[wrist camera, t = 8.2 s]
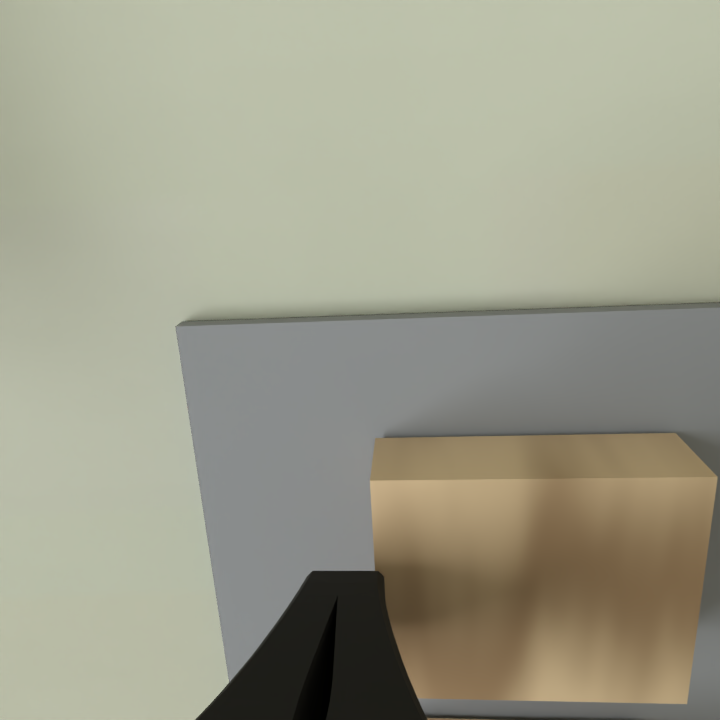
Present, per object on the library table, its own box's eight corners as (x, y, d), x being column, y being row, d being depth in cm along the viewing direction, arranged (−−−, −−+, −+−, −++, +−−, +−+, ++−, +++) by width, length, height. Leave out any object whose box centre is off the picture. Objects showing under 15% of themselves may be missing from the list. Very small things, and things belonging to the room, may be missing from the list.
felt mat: (757, 955, 18) (765, 973, 17) (271, 928, 19) (268, 943, 18) (898, 296, 12) (914, 300, 11) (181, 321, 13) (175, 326, 13)
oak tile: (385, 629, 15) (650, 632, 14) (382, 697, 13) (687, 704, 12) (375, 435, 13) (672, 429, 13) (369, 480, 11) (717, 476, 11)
